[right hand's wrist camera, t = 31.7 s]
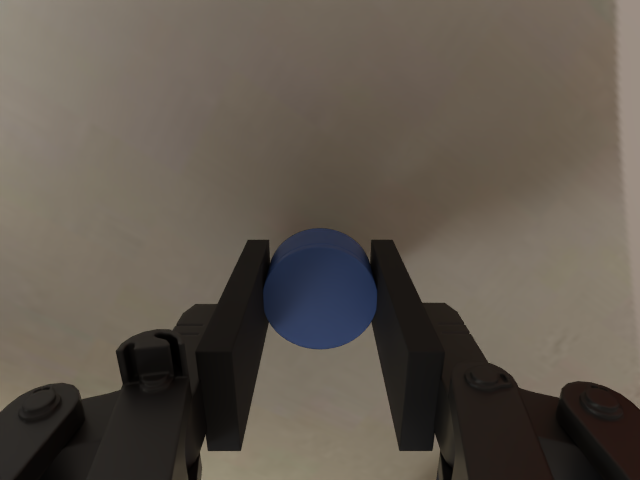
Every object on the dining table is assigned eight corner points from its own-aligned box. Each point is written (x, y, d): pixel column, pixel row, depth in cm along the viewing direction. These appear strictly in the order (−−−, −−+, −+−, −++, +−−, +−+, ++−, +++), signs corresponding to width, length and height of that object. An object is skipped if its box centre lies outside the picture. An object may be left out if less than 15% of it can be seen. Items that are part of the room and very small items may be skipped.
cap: (362, 324, 15) (368, 354, 14) (265, 314, 15) (258, 343, 14) (378, 233, 14) (387, 254, 12) (273, 221, 14) (266, 240, 12)
